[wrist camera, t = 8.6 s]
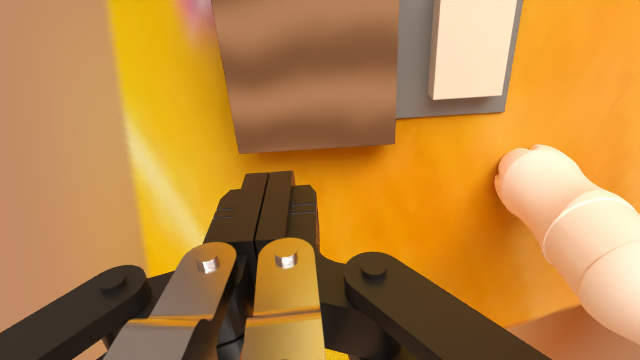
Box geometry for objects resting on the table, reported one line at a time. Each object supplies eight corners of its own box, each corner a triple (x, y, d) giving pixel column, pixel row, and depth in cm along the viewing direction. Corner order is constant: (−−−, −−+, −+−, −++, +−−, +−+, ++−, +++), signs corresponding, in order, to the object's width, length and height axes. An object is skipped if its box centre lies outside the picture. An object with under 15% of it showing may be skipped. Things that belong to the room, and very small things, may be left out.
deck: (214, -51, 31) (201, -53, 27) (391, -65, 31) (401, -68, 27) (246, 136, 39) (239, 153, 35) (387, 127, 38) (394, 144, 35)
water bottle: (566, 177, 41) (849, 420, 19) (501, 208, 43) (691, 462, 21) (545, 123, 38) (850, 337, 16) (476, 159, 40) (667, 395, 18)
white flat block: (520, -20, 30) (509, -20, 32) (441, -14, 30) (434, -15, 32) (501, 95, 34) (492, 88, 36) (433, 99, 35) (427, 93, 36)
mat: (391, -65, 31) (392, -65, 30) (533, -76, 30) (535, -76, 30) (388, 117, 38) (388, 119, 38) (502, 110, 37) (504, 111, 37)
